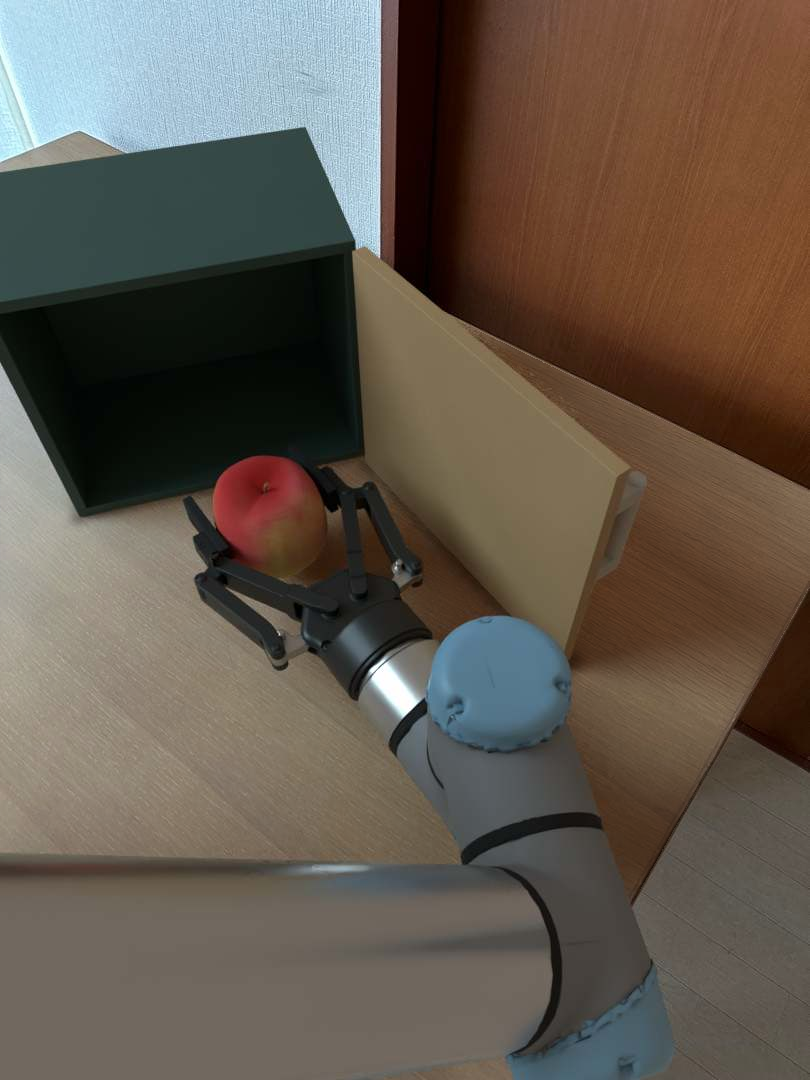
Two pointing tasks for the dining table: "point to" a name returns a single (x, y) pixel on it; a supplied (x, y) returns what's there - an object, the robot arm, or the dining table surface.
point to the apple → (270, 515)
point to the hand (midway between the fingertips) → (242, 480)
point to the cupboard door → (487, 457)
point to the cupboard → (179, 314)
